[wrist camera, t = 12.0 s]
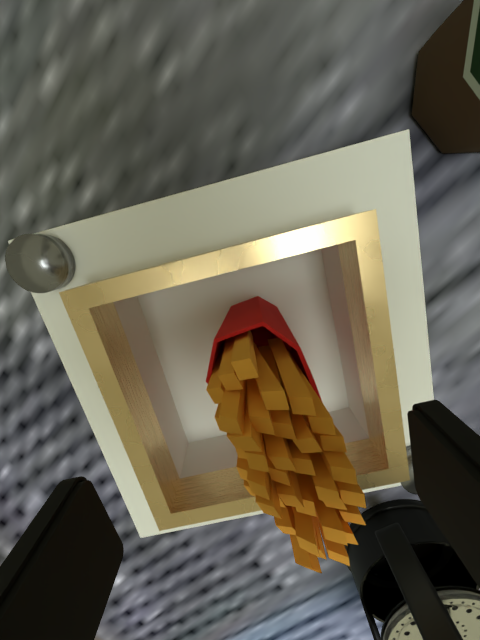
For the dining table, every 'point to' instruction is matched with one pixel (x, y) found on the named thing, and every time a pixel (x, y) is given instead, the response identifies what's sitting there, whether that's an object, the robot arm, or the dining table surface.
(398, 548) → the french press
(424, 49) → the beer bottle
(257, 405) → the french fries
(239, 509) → the gold-rimmed square tray
